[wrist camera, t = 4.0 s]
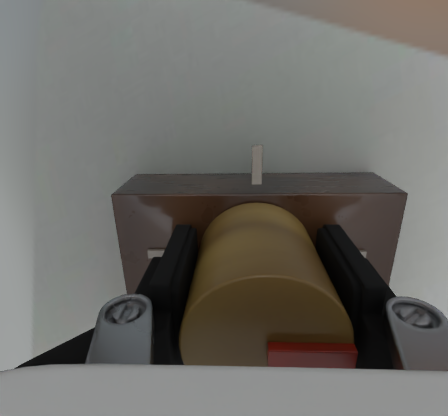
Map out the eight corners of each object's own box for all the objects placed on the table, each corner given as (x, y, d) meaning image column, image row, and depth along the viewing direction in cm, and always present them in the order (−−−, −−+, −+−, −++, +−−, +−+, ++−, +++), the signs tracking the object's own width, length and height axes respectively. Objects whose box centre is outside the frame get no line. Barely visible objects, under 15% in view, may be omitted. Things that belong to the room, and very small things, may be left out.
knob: (202, 298, 13) (181, 419, 8) (197, 201, 11) (168, 282, 7) (306, 299, 13) (347, 424, 8) (316, 201, 11) (373, 283, 6)
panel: (154, 325, 18) (137, 373, 15) (130, 134, 14) (100, 147, 11) (348, 328, 17) (371, 378, 14) (380, 131, 13) (422, 143, 10)
